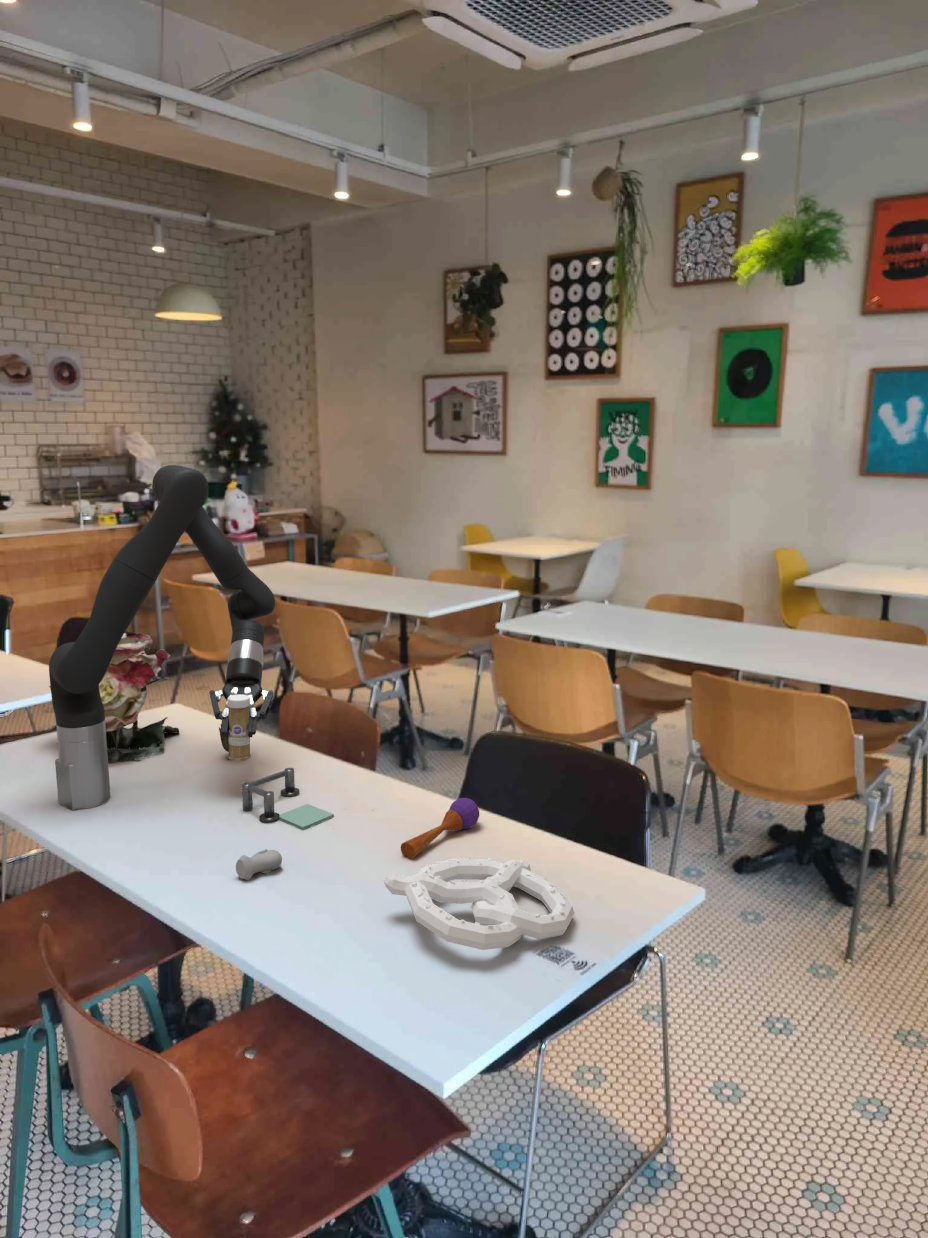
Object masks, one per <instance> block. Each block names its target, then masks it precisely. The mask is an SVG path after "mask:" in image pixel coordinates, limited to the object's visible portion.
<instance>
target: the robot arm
mask: <svg viewBox="0 0 928 1238" xmlns="http://www.w3.org/2000/svg"><path fill="white" fill-rule="evenodd" d="M151 484H152V485H151V486H152V492H153V494H154V497H155V498H156V500H157V501H158V502H159V503H158V505H157V506H156V509H155V511H154V512H153V514H152V515H151V518H150V519H149V520H148V521H147V522H146V524H145V525H144V526H143V527H142V528H141V529H140V530H139V531H138V532H137V533H135V535H134V536H133V537H132V538H131V537H130V539H129V540H128V541H127V542H126V543H125V544H124V545H123V546H122V547H121V548H120V549H119V550H118V552H117V553H116V555H115V556H114V558H113V560H112V561H111V562H110V564H109V567H108V568H107V570H106V571H105V573H104V575H103V577H102V578H101V581H100V584H99V586H98V589H97V592H96V596H95V599H94V602H93V607H92V609H91V613H90V616H89V618H88V621H87V623H86V625H85V626H84V628H83V629H82V631H81V632H80V634H79V636H78V637H77V639H76V640H75V641H71V642H66V643H63V644H61V645H60V646H58V647H57V648H56V649H55V650H54V651H53V652H52V654H51V656H50V659H49V662H48V676H49V684H50V685H49V686H50V687H51V690H50V693H51V694H50V695H51V704H52V709H53V712H54V717H55V718H54V719H55V726H56V737H57V749H58V751H57V752H58V758H56V759H55V760H54V765H55V776H56V789H57V801H58V804H60V805H62V806H64V807H65V808H66V809H67V808H68V809H70V810H71V811H75V810H79V809H88V808H89V809H90V808H94V807H97V806H100V805H103V804H105V803H107V802H108V801H109V800H110V799H111V796H112V795H111V784H110V781H111V780H110V768H109V764H108V753H107V749H108V748H107V740H106V725H105V711H104V706H103V703H102V700H101V696H100V691H99V683H100V682H101V681H102V679H103V677H104V675H105V673H106V671H107V669H108V666H109V664H110V662H111V659H112V657H113V655H114V653H115V650H116V648H117V646H118V644H119V642H120V640H121V638H122V636H123V634H124V633H125V631H127V629H128V628H129V626H130V625H131V624H132V622H133V620H134V619H135V617H136V615H137V614H138V611H139V610H140V608H141V607H142V605H143V603H144V602H145V600H146V599H147V597H148V596H149V593H151V590H152V588H153V587H154V585H155V583H156V581H157V580H158V579H159V576H160V573H161V572H162V570H163V568H164V567H165V565H166V563H167V562H168V560H169V558H170V556H171V555H172V553H173V551H174V549H175V547H176V545H177V544H178V542H179V540H180V539H181V537H182V535H183V534H184V533H186V534H187V535H188V536H189V538H190V539H191V541H192V542H193V544H194V545H195V547H196V548H197V550H198V551H199V553H200V554H201V556H202V557H203V558H204V561H206V563H207V565H208V567H209V568H210V570H211V571H212V573H213V574H214V577H215V578H216V579H217V581H218V583H220V585H221V586H222V588H223V589H225V590H234V591H235V590H236V591H235V592H233V593H232V594H231V595H230V597H229V598H228V601H227V610H228V614H229V620H230V625H231V626H230V627H231V631H232V634H231V640H230V648H229V652H228V656H227V664H226V665H227V666H226V674H225V683H224V686H223V687H222V689H221V690H216V691H215V690H213V689H212V690H210V691H209V692H208V693H209V698H210V699H209V700H210V701H211V707H212V711H213V716H214V717H215V720H220V721H221V723H220V728H221V732H222V735H224V737H228V735H229V732H228V730H229V709H228V705H227V702H226V703H225V705H224V709H223V711H221V710H220V706H219V702H221V699H222V697H224V699H225V700H226V701H227V699H228V697H229V696H231V695H237V694H242V695H248V696H249V697H250V707H249V715H250V717H249V727H248V736H249V737H250V738H253V736H255V735H256V733H257V725H258V721H259V720H266V719H267V717H268V715H269V713H270V710H271V707H272V706H273V703H274V701H275V694H274V691H273V690H271V689H270V690H263V688H262V680H263V679H262V678H263V668H264V665H265V664H264V645H265V628H264V626H263V625H262V623H260V622H259V621H257V620H254V619H257V618H261V617H265V616H266V617H267V616H268V615H271V614H272V613H273V612H274V611H275V608H276V599H275V596H274V593H273V592H272V590H271V588H270V587H269V586H268V585H267V584H266V583H265V582H264V581H263V580H261V579H260V578H259V576H257V574H255V573H254V572H253V571H252V570H251V569H250V568H249V567H248V566H247V564H246V562H245V561H244V559H243V557H242V556H241V554H240V552H239V551H238V549H237V548H236V547H235V545H234V543H232V541H231V540H230V539H229V537H228V536H226V535H227V534H225V533H224V532H223V531H222V530H221V529H220V528H219V526H217V524H216V523H215V522H214V521H213V519H212V518H211V517H210V516H209V514H208V513H207V511H206V509H205V507H204V504H206V502H207V501H206V500H207V498H208V496H209V483H208V480H207V478H206V476H205V475H204V473H202V472H201V471H199V470H197V469H195V468H191V467H187V466H183V465H177V464H169V465H164V466H163V467H162V466H161V468H159V469H158V470H157V471H156V472H155V474H154V475H153V478H152V483H151ZM237 590H238V591H237ZM50 687H49V688H50ZM261 697H262V699H263V703H262V705H261V707H260V709H259V710H258V711H257V710H256V706H255V704H256V703H257V701H259V699H260V698H261Z"/></svg>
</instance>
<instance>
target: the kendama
mask: <svg viewBox="0 0 928 1238" xmlns="http://www.w3.org/2000/svg"><path fill="white" fill-rule="evenodd" d="M479 818H480V809H479V806H478V805H477V804H476V802H475V801H474V800H473V799H471V798H468V797H461V798H458V799H456V800H455V801H453V802H452V803H451V804H450V807H449V809H448V810H447V811H446V812H445V815H444V817H443V819H442V822H441V824H440V825H438V826H437V827H434V828H432V829H430V830H427V831H426V832H424V833H421V834H419V835H417V836H415V837H413V838H410V839H409V840H406V841H404V842H403V843H401V845H400V851H401V854H402V855H403V857H404V858H407V859H409V860H413V859H414V858H416V856H418V855H419V854H420V853H421V852H422V851H423V850H424V849H426V847H427V846H429V845H430V844H431V843H432V842H433V841H434V840H435V839H436V838H437V837H438V836H439V835H440V834H442V833H443V832H444V831H452V832H453V831H454V832H455V831H460V830H468V829H471V828H472V827H474V826H475V825H476V824H477V823H478V820H479Z"/></svg>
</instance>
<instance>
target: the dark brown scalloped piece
mask: <svg viewBox="0 0 928 1238" xmlns="http://www.w3.org/2000/svg"><path fill="white" fill-rule="evenodd" d="M218 730H219V736H220V742H221V745H222V748H223V750H225V752H227V753H228V757H229V735H228V737H224V735H222V732H221V726H220V727H219V726H218Z"/></svg>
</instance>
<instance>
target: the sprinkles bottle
mask: <svg viewBox="0 0 928 1238" xmlns="http://www.w3.org/2000/svg"><path fill="white" fill-rule="evenodd" d="M226 703H227V705H228V709H229V730H228V732H229V752H228V753H229V756H228V759H229V760H231V761H233V762H234V761H235V762H241V761H242V762H243V761H247V760H249V759H250V758H251V756H252V755H251V737H249V736H248V727H249V718H250V711H249V707H250V697H249V696H248V695H242V694H237V695H231V696H229V697H228V699H227V700H226Z"/></svg>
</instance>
